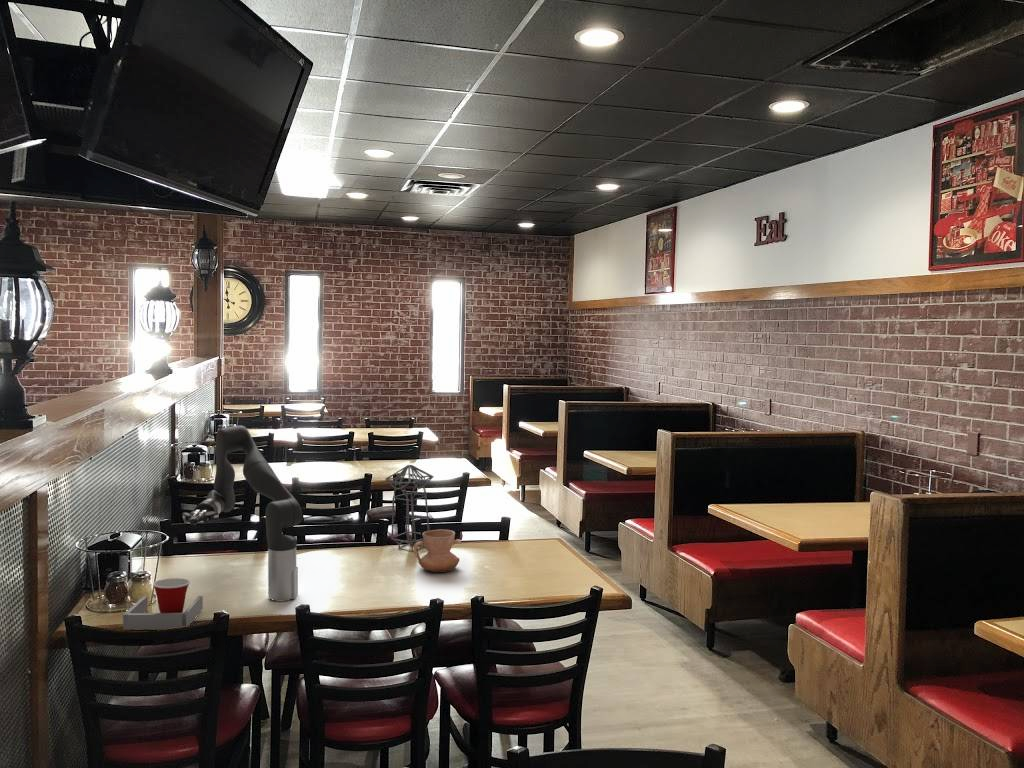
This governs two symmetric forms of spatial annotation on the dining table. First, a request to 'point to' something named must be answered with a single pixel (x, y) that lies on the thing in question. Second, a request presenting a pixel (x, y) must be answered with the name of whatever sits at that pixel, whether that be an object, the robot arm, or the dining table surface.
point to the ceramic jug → (438, 551)
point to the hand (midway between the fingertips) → (192, 522)
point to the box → (159, 616)
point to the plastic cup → (171, 594)
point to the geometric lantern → (402, 474)
